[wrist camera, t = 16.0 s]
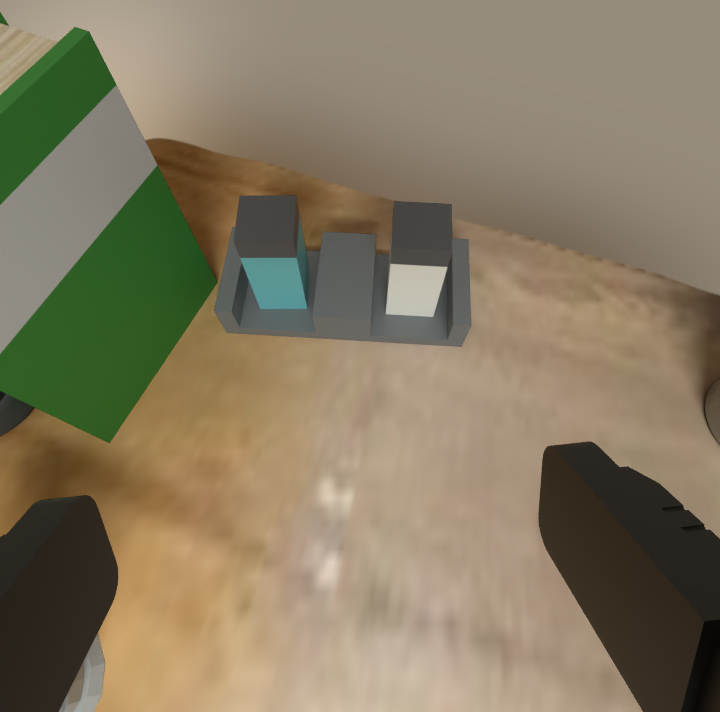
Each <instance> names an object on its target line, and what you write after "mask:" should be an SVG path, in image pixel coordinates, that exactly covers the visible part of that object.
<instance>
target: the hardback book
mask: <svg viewBox="0 0 720 712" xmlns="http://www.w3.org/2000/svg"><path fill="white" fill-rule="evenodd" d="M217 283H218V282H217V280H216V278H215V277H214V275H213V273H212V271H211V269H210V267H209V265H208V263H207V261H206V259H205V257H204V255H203V253H202V251H201V249H200V247H199V245H198V243H197V241H196V239H195V237H194V235H193V234H192V232H191V230H190V228H189V226H188V224H187V222H186V220H185V218H184V216H183V214H182V212H181V210H180V208H179V206H178V204H177V202H176V200H175V198H174V196H173V194H172V192H171V191H170V189H169V187H168V185H167V183H166V181H165V179H164V177H163V175H162V173H161V171H160V169H159V167H158V165H157V163H156V161H155V159H154V157H153V155H152V153H151V151H150V149H149V148H148V146H147V144H146V142H145V140H144V138H143V136H142V134H141V132H140V130H139V128H138V126H137V124H136V122H135V120H134V118H133V116H132V114H131V112H130V110H129V108H128V107H127V105H126V103H125V101H124V99H123V97H122V95H121V93H120V91H119V89H118V87H117V85H116V83H115V81H114V79H113V77H112V75H111V73H110V72H109V69H108V67H107V66H106V63H105V62H104V60H103V58H102V56H101V54H100V52H99V50H98V48H97V46H96V44H95V42H94V40H93V38H92V36H91V34H90V32H89V31H86V30H83V29H79V28H76V27H74V28H73V29H72V30H71V31H70V32H69V33H68V34H67V35H66V36H64V37H63V38H62V39H61V40H60V41H59V42H56V41H53V40H50V39H47V38H44V37H41V36H38V35H35V34H32V33H29V32H26V31H22V30H19V29H16V28H13V27H10V26H9V25H8V24H7V22H6V20H5V19H4V17H3V16H2V14H1V13H0V391H2V392H4V393H6V394H8V395H10V396H12V397H14V398H16V399H18V400H20V401H23V402H25V403H27V404H29V405H31V406H33V407H35V408H37V409H39V410H41V411H43V412H45V413H48V414H50V415H52V416H54V417H56V418H58V419H60V420H62V421H64V422H66V423H68V424H71V425H73V426H75V427H77V428H79V429H81V430H83V431H85V432H87V433H89V434H91V435H93V436H96V437H98V438H100V439H102V440H104V441H106V442H108V443H110V442H111V440H112V439H113V437H114V436H115V434H116V433H117V431H118V430H119V428H120V427H121V425H122V424H123V422H124V421H125V419H126V418H127V416H128V415H129V413H130V412H131V410H132V409H133V407H134V406H135V404H136V403H137V402H138V400H139V399H140V397H141V396H142V394H143V393H144V391H145V390H146V388H147V387H148V385H149V384H150V382H151V381H152V379H153V378H154V376H155V375H156V373H157V372H158V370H159V369H160V367H161V366H162V364H163V363H164V361H165V360H166V358H167V357H168V355H169V354H170V352H171V351H172V350H173V348H174V347H175V345H176V344H177V342H178V341H179V339H180V338H181V336H182V335H183V333H184V332H185V330H186V329H187V327H188V326H189V324H190V323H191V321H192V320H193V318H194V317H195V315H196V314H197V312H198V311H199V309H200V308H201V306H202V305H203V303H204V302H205V300H206V299H207V297H208V296H209V295H210V293H211V292H212V290H213V289H214V287H215V286H216V284H217Z"/></svg>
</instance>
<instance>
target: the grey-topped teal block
mask: <svg viewBox="0 0 720 712" xmlns="http://www.w3.org/2000/svg"><path fill="white" fill-rule="evenodd" d="M234 244H235V247H236V249H237V252H238V254H239V257H240V259H241V262H242V264H243V267H244V269H245V272H246V274H247V277H248V279H249V282H250V284H251V287H252V289H253V292H254V294H255V297H256V299H257V302H258V304H259V307H260V309H307V306H308V285H309V265H308V259H307V254H306V248H305V242H304V237H303V231H302V225H301V220H300V214H299V209H298V203H297V197H296V195H295V196H240V197H239V204H238V212H237V220H236V228H235V235H234Z"/></svg>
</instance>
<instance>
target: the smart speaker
mask: <svg viewBox="0 0 720 712" xmlns="http://www.w3.org/2000/svg"><path fill="white" fill-rule="evenodd" d="M32 409H33V406H31V405H29V404H27V403H25V402H23V401H20V400H18V399H16V398H14V397H12V396H10V395H8V394H6V393H4V392H2V391H0V436H1V435H3V434H5V433H7V432H9V431H10V430H12V429H13V428H15V427H16V426H17V425H18V424H20V423H21V422H22V421H23V420H24V419H25V418H26V417H27V416H28V414H29V413H30V412H31V410H32Z"/></svg>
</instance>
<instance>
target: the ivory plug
mask: <svg viewBox="0 0 720 712" xmlns="http://www.w3.org/2000/svg"><path fill="white" fill-rule="evenodd" d="M451 209H452V206H451V204H438V203H418V202H398V201H394V210H393V221H392V232H391V243H390V254H389V265H388V278H387V297H386V314H391V315H408V316H425V317H433V316H434V312H435V309H436V305H437V302H438V298H439V295H440V291H441V288H442V285H443V281H444V278H445V274H446V271H447V267H448V264H449V260H450V257H451V254H452V210H451Z"/></svg>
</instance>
